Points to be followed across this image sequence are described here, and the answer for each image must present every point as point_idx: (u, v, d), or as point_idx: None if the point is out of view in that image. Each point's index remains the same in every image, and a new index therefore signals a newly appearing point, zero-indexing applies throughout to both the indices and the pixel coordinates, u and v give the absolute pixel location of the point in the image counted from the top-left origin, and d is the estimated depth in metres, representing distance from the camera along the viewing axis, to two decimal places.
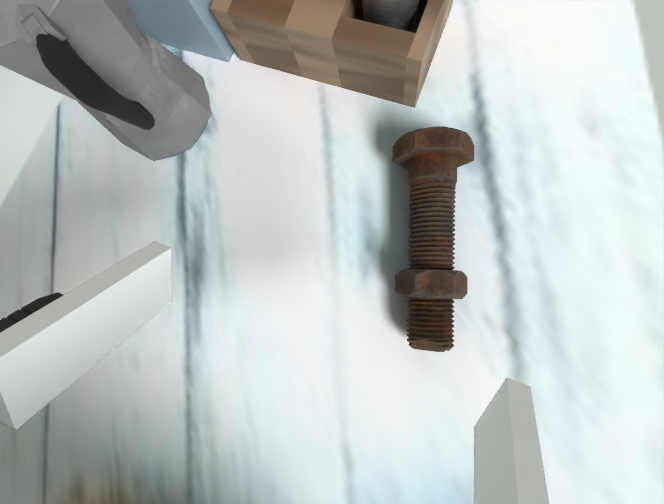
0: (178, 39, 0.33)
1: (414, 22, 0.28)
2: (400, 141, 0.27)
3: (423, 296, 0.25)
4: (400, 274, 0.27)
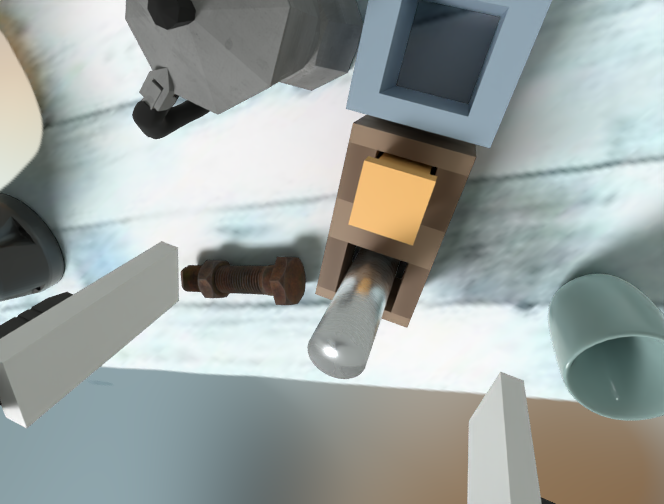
0: None
1: None
2: (284, 264, 0.39)
3: (198, 282, 0.43)
4: (212, 265, 0.43)
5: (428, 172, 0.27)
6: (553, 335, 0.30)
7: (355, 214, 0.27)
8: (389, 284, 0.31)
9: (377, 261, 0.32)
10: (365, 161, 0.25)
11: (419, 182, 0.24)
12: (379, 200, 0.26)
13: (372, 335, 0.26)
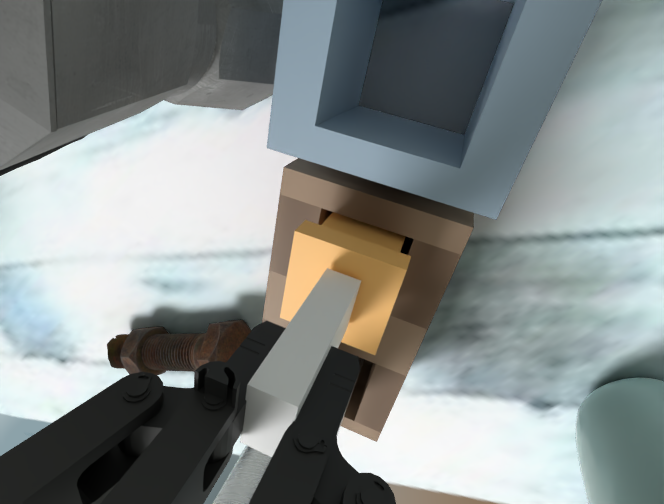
0: None
1: None
2: (216, 335, 0.29)
3: (121, 360, 0.34)
4: (137, 336, 0.34)
5: (401, 240, 0.18)
6: (587, 480, 0.20)
7: (288, 304, 0.17)
8: None
9: None
10: (296, 232, 0.16)
11: (381, 269, 0.15)
12: None
13: None
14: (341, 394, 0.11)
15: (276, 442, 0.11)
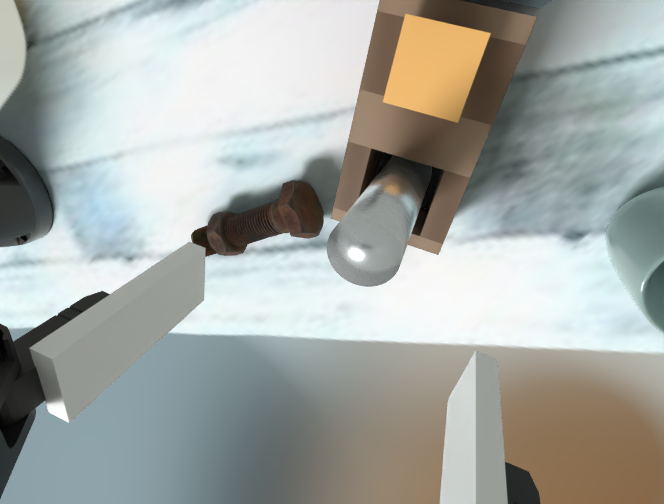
0: None
1: None
2: (291, 187, 0.34)
3: (207, 238, 0.39)
4: (219, 216, 0.39)
5: None
6: (619, 253, 0.25)
7: (392, 87, 0.23)
8: (421, 195, 0.26)
9: (405, 169, 0.27)
10: (406, 15, 0.21)
11: (470, 36, 0.21)
12: (421, 66, 0.22)
13: (406, 234, 0.21)
14: None
15: None
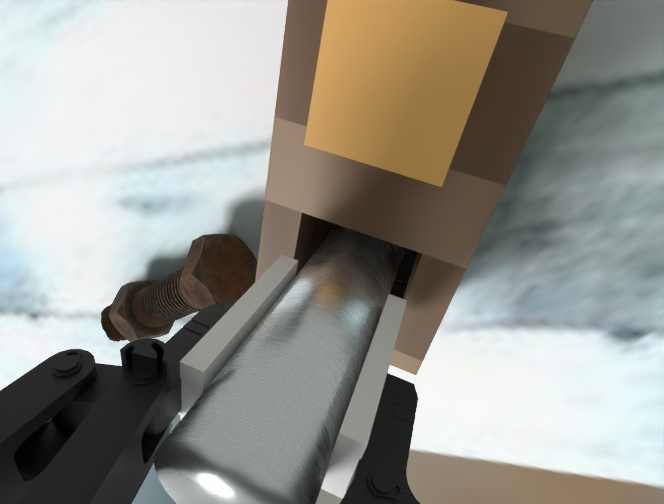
0: None
1: None
2: (200, 247, 0.23)
3: None
4: (125, 290, 0.28)
5: None
6: None
7: (318, 118, 0.12)
8: (382, 296, 0.15)
9: (358, 249, 0.16)
10: None
11: (465, 19, 0.10)
12: (368, 80, 0.11)
13: (331, 434, 0.10)
14: (403, 427, 0.11)
15: (337, 478, 0.10)
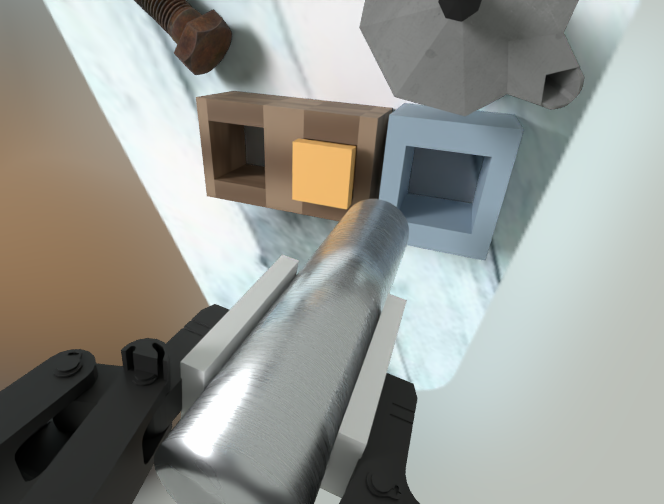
0: None
1: None
2: (215, 23, 0.32)
3: None
4: None
5: (352, 188, 0.33)
6: None
7: (304, 147, 0.29)
8: (381, 296, 0.15)
9: (358, 249, 0.16)
10: (351, 150, 0.28)
11: (343, 197, 0.30)
12: (321, 167, 0.30)
13: (330, 434, 0.10)
14: (402, 426, 0.11)
15: (336, 477, 0.10)
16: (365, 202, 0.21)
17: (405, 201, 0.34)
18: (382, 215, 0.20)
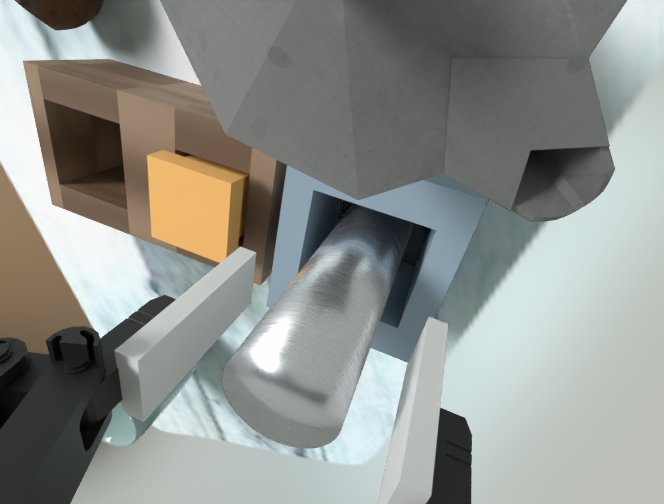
0: None
1: None
2: None
3: None
4: None
5: None
6: None
7: (163, 167, 0.19)
8: (395, 262, 0.18)
9: (374, 222, 0.19)
10: (230, 185, 0.18)
11: (220, 248, 0.20)
12: (189, 200, 0.19)
13: (359, 357, 0.12)
14: (461, 469, 0.10)
15: None
16: None
17: None
18: None
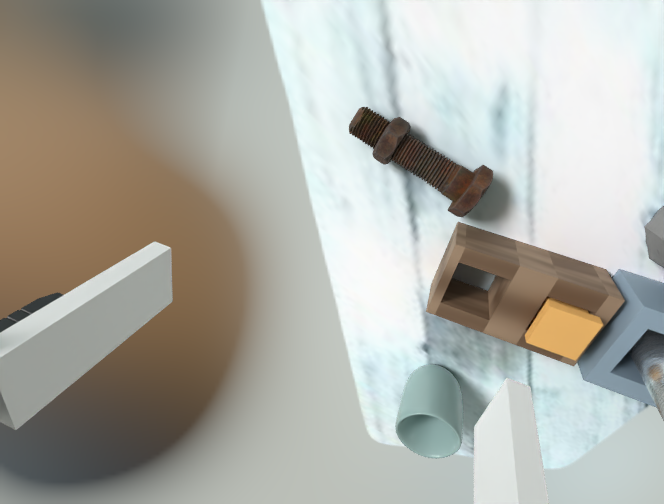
0: None
1: None
2: (490, 177, 0.37)
3: (383, 134, 0.37)
4: (406, 126, 0.38)
5: None
6: (433, 390, 0.47)
7: (558, 312, 0.36)
8: None
9: None
10: (602, 325, 0.35)
11: (577, 352, 0.37)
12: (567, 328, 0.36)
13: None
14: None
15: None
16: None
17: None
18: None
